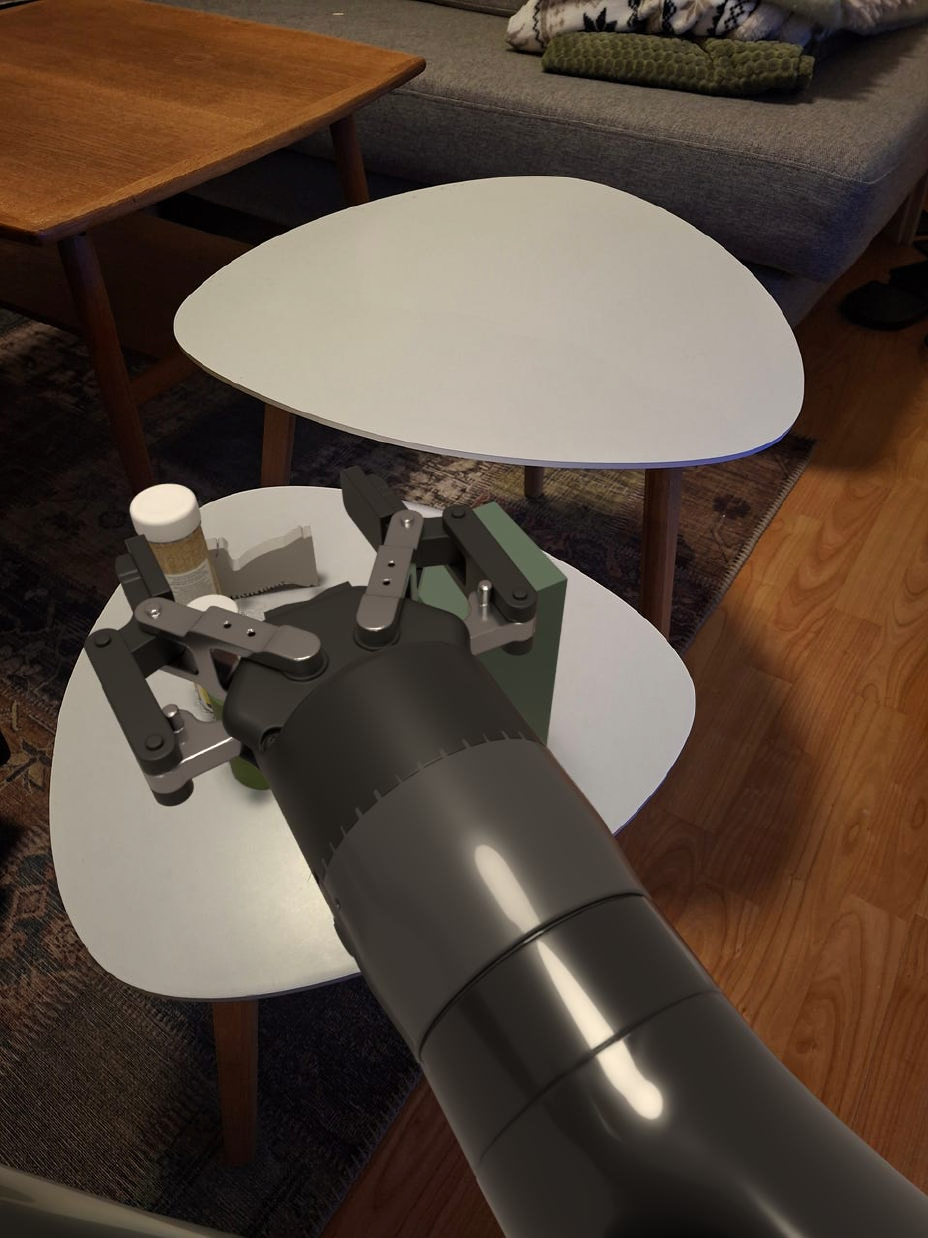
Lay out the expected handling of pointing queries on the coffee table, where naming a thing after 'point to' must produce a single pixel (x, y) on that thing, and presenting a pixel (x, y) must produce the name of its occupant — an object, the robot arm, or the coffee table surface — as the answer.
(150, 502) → the sprinkles bottle
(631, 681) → the coffee table surface
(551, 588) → the pedestal
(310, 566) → the grey tape dispenser
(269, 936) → the coffee table surface
